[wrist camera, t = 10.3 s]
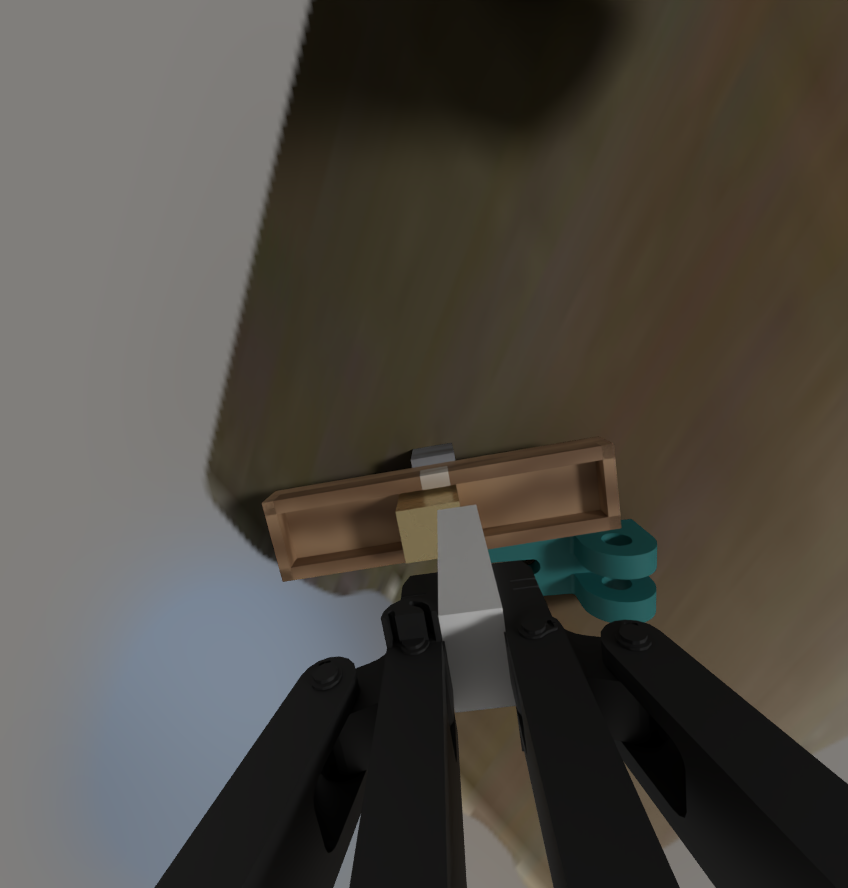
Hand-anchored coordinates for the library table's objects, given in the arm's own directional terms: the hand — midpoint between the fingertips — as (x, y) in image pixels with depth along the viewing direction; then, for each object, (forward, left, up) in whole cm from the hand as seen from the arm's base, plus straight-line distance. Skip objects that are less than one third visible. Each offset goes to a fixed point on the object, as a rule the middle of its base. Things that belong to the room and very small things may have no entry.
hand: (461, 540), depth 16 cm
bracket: (+16, +9, -27) cm, 33 cm away
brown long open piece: (+6, -1, -27) cm, 28 cm away
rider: (+6, -2, -21) cm, 22 cm away
